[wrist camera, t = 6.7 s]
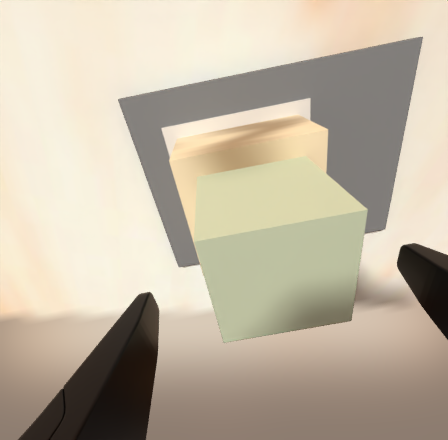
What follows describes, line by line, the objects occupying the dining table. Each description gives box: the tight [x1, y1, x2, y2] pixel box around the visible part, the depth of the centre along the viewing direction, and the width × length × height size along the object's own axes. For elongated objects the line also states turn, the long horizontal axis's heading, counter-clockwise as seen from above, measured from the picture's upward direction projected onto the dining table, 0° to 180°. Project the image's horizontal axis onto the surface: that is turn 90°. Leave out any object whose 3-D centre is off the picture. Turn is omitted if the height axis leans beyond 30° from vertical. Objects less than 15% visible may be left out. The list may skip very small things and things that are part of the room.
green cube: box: [194, 156, 368, 343], centre depth 11 cm, size 5×5×5 cm
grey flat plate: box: [118, 37, 423, 267], centre depth 16 cm, size 16×12×1 cm
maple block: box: [169, 115, 328, 276], centre depth 14 cm, size 7×7×4 cm
